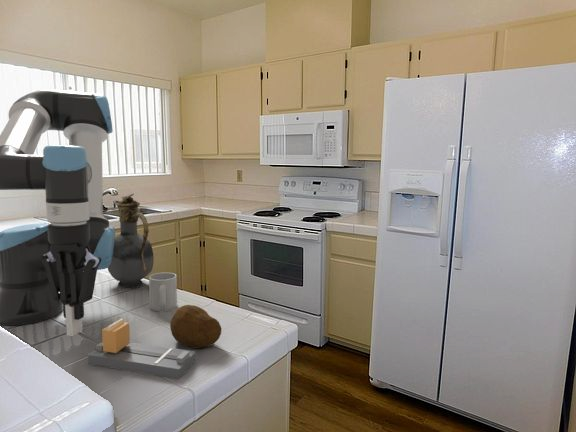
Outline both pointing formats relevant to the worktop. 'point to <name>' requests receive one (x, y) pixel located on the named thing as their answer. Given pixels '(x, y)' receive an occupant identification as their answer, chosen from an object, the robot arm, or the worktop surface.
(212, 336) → the potato
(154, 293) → the cup
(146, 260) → the pitcher
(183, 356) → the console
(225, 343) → the worktop surface
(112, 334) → the slider
